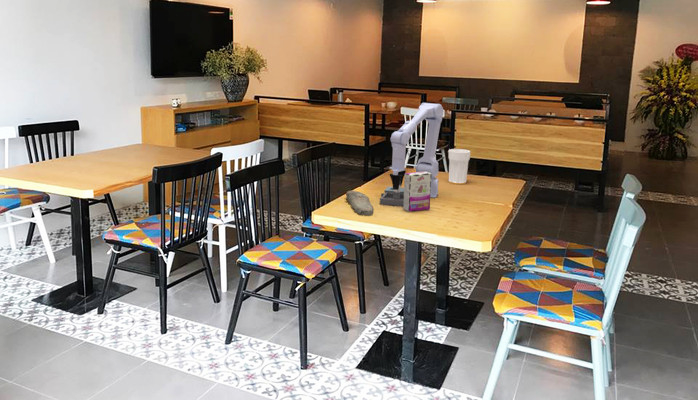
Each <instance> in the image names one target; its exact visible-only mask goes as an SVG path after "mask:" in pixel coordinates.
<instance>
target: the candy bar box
mask: <svg viewBox="0 0 698 400" xmlns="http://www.w3.org/2000/svg"><path fill="white" fill-rule="evenodd" d="M403 181H404V182H403V186H404V187H403V188H404V207H402V208H403V210H404V211H406V212H408V213H411V212H413V213H414V212H421V211H429V210H430V209H431V197H430V192H431V173H429V172H416V171H415V172H408V173H407V172H406V173H405V175H404V178H403Z"/></svg>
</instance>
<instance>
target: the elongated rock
mask: <svg viewBox="0 0 698 400" xmlns="http://www.w3.org/2000/svg"><path fill="white" fill-rule="evenodd" d="M345 195H346V200H347V201H348V203H349V204H350V205H351V208H353V210H354V211H355V212H356V213H357V214H358V215H360V216H363V215H366V216H365V217H369V216H372V215H373V214H374V206H373V205H372V202H371V201H370V198H369V196H367V195H366V194H365V193H362V192H360V191H355V190H348V191H347V192H346V194H345Z"/></svg>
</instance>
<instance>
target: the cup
mask: <svg viewBox="0 0 698 400" xmlns="http://www.w3.org/2000/svg"><path fill="white" fill-rule="evenodd" d="M447 158H448V161H449V165H448V183H449V184H450V185H460V186H461V185H466V184H467V179H468V178H467V175H468V168H469V161H470V159H471V150H468V149H464V148H463V149H462V148H451V149H449V150H448V157H447Z"/></svg>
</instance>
